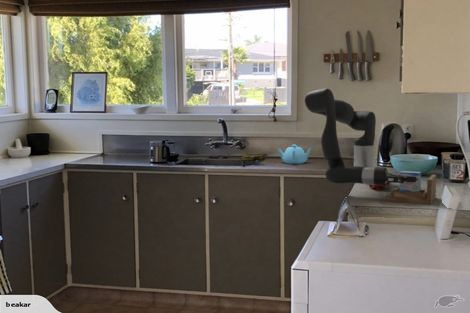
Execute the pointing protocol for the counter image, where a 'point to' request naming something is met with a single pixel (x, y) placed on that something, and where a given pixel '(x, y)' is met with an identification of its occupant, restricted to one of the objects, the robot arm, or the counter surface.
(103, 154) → the counter surface
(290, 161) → the teapot
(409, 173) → the medicine box
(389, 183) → the dragon fruit
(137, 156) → the counter surface
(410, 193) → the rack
